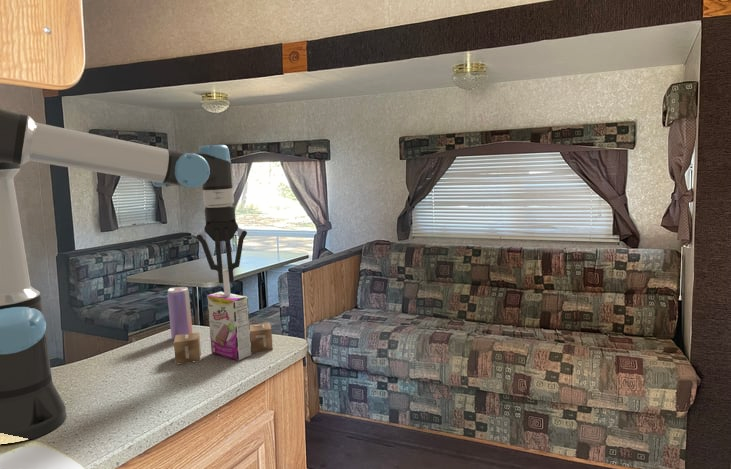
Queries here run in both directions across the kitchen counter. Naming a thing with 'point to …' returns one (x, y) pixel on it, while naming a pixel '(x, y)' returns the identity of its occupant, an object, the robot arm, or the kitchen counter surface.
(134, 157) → the robot arm
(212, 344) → the candy bar box
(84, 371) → the kitchen counter surface
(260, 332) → the walnut block seven
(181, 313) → the beverage can
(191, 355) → the walnut block one
